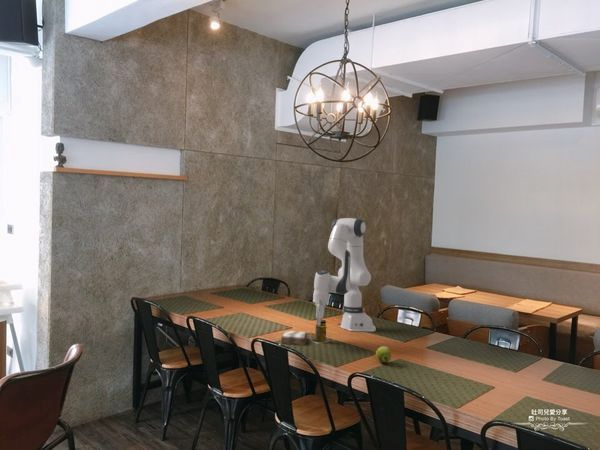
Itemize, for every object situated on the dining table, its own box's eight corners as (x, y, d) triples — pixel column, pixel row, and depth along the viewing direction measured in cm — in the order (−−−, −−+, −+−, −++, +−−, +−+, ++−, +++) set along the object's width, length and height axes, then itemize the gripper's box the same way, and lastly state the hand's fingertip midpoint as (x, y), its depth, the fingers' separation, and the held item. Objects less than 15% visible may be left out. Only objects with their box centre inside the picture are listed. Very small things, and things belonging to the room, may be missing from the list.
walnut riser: (306, 338, 290) (306, 331, 290) (304, 344, 277) (304, 337, 277) (284, 337, 291) (284, 330, 291) (281, 343, 278) (281, 336, 278)
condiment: (328, 342, 285) (329, 321, 284) (316, 343, 280) (317, 322, 280) (321, 338, 291) (322, 318, 290) (309, 340, 286) (310, 319, 286)
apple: (388, 359, 258) (389, 344, 257) (392, 365, 249) (393, 349, 248) (373, 359, 257) (374, 343, 257) (377, 365, 248) (378, 349, 248)
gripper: (325, 303, 274) (324, 328, 274) (327, 296, 294) (325, 319, 295) (314, 302, 274) (312, 327, 275) (316, 295, 295) (314, 318, 295)
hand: (319, 323), depth 285 cm, fingers open, 8 cm apart
